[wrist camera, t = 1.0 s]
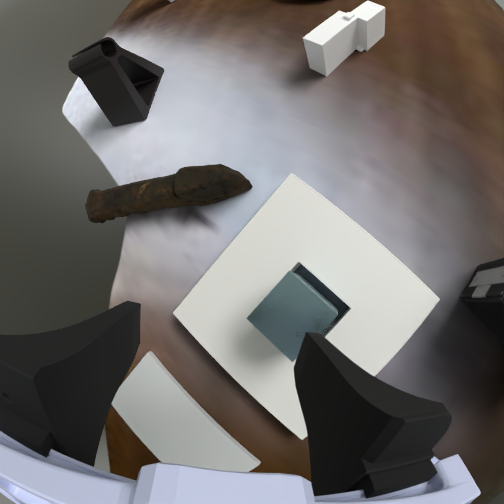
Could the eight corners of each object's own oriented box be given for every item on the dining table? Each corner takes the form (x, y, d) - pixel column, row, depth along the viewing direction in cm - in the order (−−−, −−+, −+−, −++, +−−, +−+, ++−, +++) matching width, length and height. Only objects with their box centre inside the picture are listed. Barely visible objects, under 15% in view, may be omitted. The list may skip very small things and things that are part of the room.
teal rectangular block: (337, 307, 23) (338, 314, 16) (304, 342, 23) (292, 362, 16) (302, 276, 24) (289, 270, 17) (270, 311, 24) (246, 318, 18)
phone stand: (146, 120, 32) (84, 70, 20) (114, 127, 34) (54, 86, 22) (164, 69, 33) (117, 17, 21) (133, 78, 34) (85, 35, 23)
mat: (260, 461, 22) (259, 464, 22) (203, 495, 23) (200, 498, 23) (151, 351, 27) (148, 352, 26) (112, 399, 28) (108, 400, 27)
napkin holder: (307, 95, 26) (298, 59, 21) (284, 36, 29) (274, 5, 23) (430, 80, 23) (440, 46, 17) (390, 23, 25) (391, -8, 19)
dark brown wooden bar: (104, 226, 32) (77, 218, 27) (108, 195, 32) (83, 184, 28) (253, 217, 26) (236, 202, 22) (254, 176, 27) (238, 156, 22)
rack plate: (432, 298, 20) (439, 299, 18) (304, 429, 22) (302, 439, 20) (295, 181, 25) (291, 172, 23) (183, 312, 27) (172, 313, 25)
